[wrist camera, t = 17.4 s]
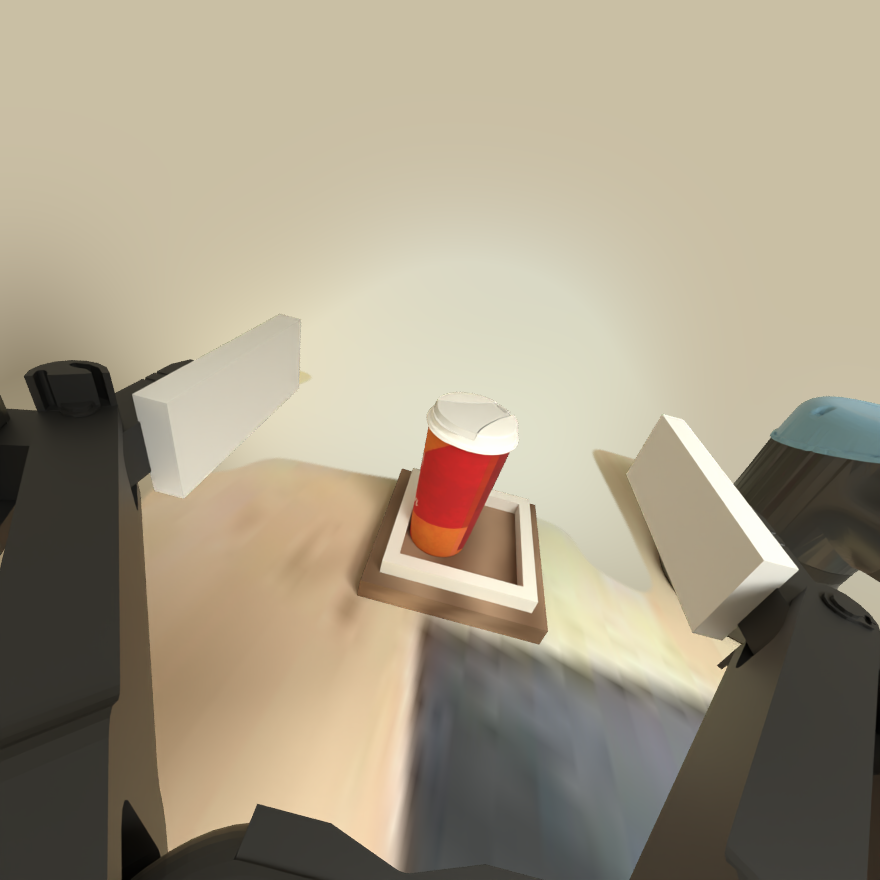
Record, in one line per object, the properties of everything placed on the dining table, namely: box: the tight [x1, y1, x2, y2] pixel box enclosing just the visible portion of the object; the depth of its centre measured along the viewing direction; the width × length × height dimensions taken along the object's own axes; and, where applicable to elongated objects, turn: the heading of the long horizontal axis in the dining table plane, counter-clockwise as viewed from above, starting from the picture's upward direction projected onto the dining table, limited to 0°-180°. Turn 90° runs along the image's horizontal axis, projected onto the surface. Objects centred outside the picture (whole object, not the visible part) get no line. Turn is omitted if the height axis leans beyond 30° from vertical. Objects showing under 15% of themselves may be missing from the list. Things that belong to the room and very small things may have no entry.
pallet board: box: [357, 468, 548, 644], centre depth 40 cm, size 16×16×4 cm
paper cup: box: [410, 392, 519, 557], centre depth 36 cm, size 8×8×14 cm
